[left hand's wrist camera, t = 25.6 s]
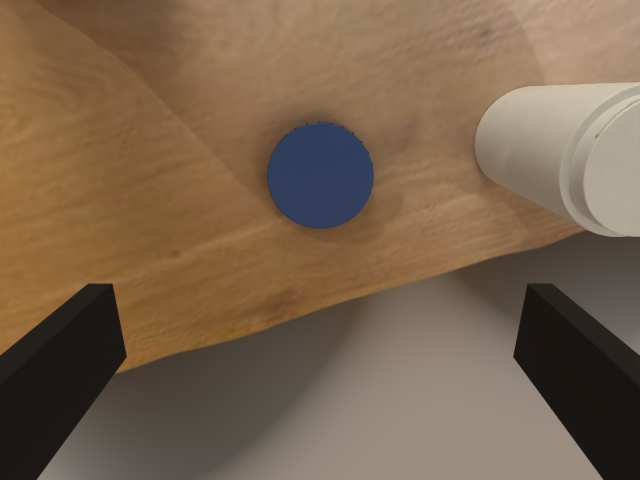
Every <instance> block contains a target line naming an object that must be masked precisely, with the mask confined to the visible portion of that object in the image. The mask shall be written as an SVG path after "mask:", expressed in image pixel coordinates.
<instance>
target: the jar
mask: <svg viewBox="0 0 640 480" xmlns="http://www.w3.org/2000/svg"><path fill="white" fill-rule="evenodd" d="M474 150H475V156H476V160H477V163H478V165H479V167H480V169H481V170H482V172H483V173H484V174H485V175H486V177H488V178H489V179H490V180H491V181H493V182H495V183H496V184H498V185H500V186H502V187H504V188H506V189H508V190H510V191H512V192H514V193H516V194H518V195H520V196H522V197H524V198H526V199H528V200H530V201H532V202H534V203H536V204H538V205H540V206H541V207H543V208H545V209H547V210H549V211H551V212H553V213H555V214H557V215H559V216H561V217H563V218H565V219H567V220H569V221H571V222H573V223H575V224H577V225H579V226H581V227H583V228H585V229H587V230H589V231H591V232H594V233H596V234H600V235H604V236H611V237H624V236H632V237H640V82H634V83H606V84H579V85H551V86H528V87H522V88H518V89H515V90H513V91H510V92H508V93H507V94H505V95H503V96H502V97H500V98H499V99H498V100H496V101H495V102H494V103H493V104H492V105H491V106H490V107H489V109H488V110H487V111H486V112H485V114H484V115H483V117H482V119H481V121H480V123H479V125H478V128H477V131H476V135H475V142H474Z"/></svg>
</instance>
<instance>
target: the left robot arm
mask: <svg viewBox="0 0 640 480" xmlns="http://www.w3.org/2000/svg"><path fill="white" fill-rule="evenodd" d="M126 357H127V356H126V350H125V345H124V340H123V335H122V330H121V325H120V320H119V315H118V310H117V305H116V299H115V294H114V289H113V284H87V285H86V286H85V287H84V288H82V289H81V290H80V291H79V292H77V293H76V294H75V295H74V296H73V297H71V298H70V299H69V300H68V301H66V302H65V303H64V304H63V305H62V306H60V307H59V308H58V309H57V310H55V311H54V312H53V313H52V314H51V315H49V316H48V317H47V318H46V319H44V320H43V321H42V322H41V323H40V324H38V325H37V326H36V327H35V328H33V329H32V330H31V331H30V332H29V333H27V334H26V335H25V336H24V337H22V338H21V339H20V340H19V341H18V342H16V343H15V344H14V345H13V346H11V347H10V348H9V349H8V350H7V351H5V352H4V353H3V354H2V355H0V480H37V478H38V477H39V476H40V474H41V473H42V472H43V470H44V469H45V468H46V466H47V465H48V463H49V462H50V461H51V459H52V458H53V457H54V455H55V454H56V453H57V451H58V450H59V448H60V447H61V446H62V444H63V443H64V442H65V440H66V439H67V438H68V436H69V435H70V434H71V432H72V431H73V429H74V428H75V427H76V425H77V424H78V423H79V421H80V420H81V418H82V417H83V416H84V414H85V413H86V412H87V410H88V409H89V408H90V406H91V405H92V403H93V402H94V401H95V399H96V398H97V397H98V395H99V394H100V393H101V391H102V390H103V389H104V387H105V386H106V385H107V383H108V382H109V380H110V379H111V378H112V376H113V375H114V374H115V372H116V371H117V370H118V368H119V367H120V365H121V364H122V363H123V361H124V360H125V359H126ZM513 357H514V359H515V360H516V361H517V363H518V364H519V365H520V367H521V368H522V370H523V371H524V372H525V374H526V375H527V376H528V378H529V379H530V380H531V382H532V383H533V385H534V386H535V387H536V389H537V390H538V391H539V393H540V394H541V395H542V397H543V398H544V399H545V401H546V402H547V404H548V405H549V406H550V408H551V409H552V410H553V412H554V413H555V414H556V416H557V417H558V419H559V420H560V421H561V423H562V424H563V425H564V427H565V428H566V429H567V431H568V432H569V433H570V435H571V436H572V438H573V439H574V440H575V442H576V443H577V444H578V446H579V447H580V448H581V450H582V451H583V453H584V454H585V455H586V457H587V458H588V459H589V461H590V462H591V463H592V465H593V466H594V467H595V469H596V470H597V471H598V473H599V474H600V476H601V477H602V478H603V480H640V355H638V354H637V353H636V352H635V351H633V350H632V349H631V348H630V347H629V346H627V345H626V344H625V343H624V342H622V341H621V340H620V339H619V338H618V337H616V336H615V335H614V334H613V333H611V332H610V331H609V330H608V329H607V328H605V327H604V326H603V325H602V324H600V323H599V322H598V321H597V320H596V319H594V318H593V317H592V316H591V315H589V314H588V313H587V312H586V311H585V310H583V309H582V308H581V307H580V306H578V305H577V304H576V303H575V302H574V301H572V300H571V299H570V298H569V297H567V296H566V295H565V294H564V293H563V292H561V291H560V290H559V289H558V288H556V287H555V286H554V285H553V284H528V285H527V289H526V294H525V299H524V305H523V310H522V315H521V320H520V325H519V330H518V335H517V340H516V345H515V350H514V356H513Z"/></svg>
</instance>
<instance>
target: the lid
mask: <svg viewBox="0 0 640 480" xmlns="http://www.w3.org/2000/svg"><path fill="white" fill-rule="evenodd" d="M372 165H373V164H372V162H371V159H370V156H369V152H368V151H367V150H366V149H365V147H364V146H363V144H362V141H360V140H359V139H358V138H357V137H356V136H355V135H354V133H353V132H352V133H351V132H350V131H348V130H346V129H345V128H344V127H343V126H342V127H340V126H338V125H335V124H332V123H324V122H320V121H319V122H318V123H310V124H308V123H307V124H306V125H303V126H300V127H298V128H297V127H296V128H295V130H293V131H291V132H290V133H289V134H288V135H287V134H286V135H285V137H284V138H283V139H282V141H281V142H280V143H278V144H277V147H276V149H275V150H274V152H273V153H272V155H271V159H270V162H269V166H268V178H267V179H268V185H269V190H270V193H271V196H272V198H273V200H274V202H275V204H276V205H277V207H278V208H279V209H280V210H281V212H282V213H283V214H284V215H286V216H287V217H288V218H289V219H291V220H292V221H294V222H296V223H298V224H300V225H303V226H305V227H310V228H317V229H324V228H331V227H335V226H339V225H341V224H343V223H345V222H347V221H349V220H350V219H352V218H353V217H354V216H356V215H357V214H358V213H359V212H360V211H361V209H362V208H363V207H364V205H365V204H366V202H367V200H368V198H369V196H370V193H371V190H372V186H373V177H374V175H373V166H372Z"/></svg>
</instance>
